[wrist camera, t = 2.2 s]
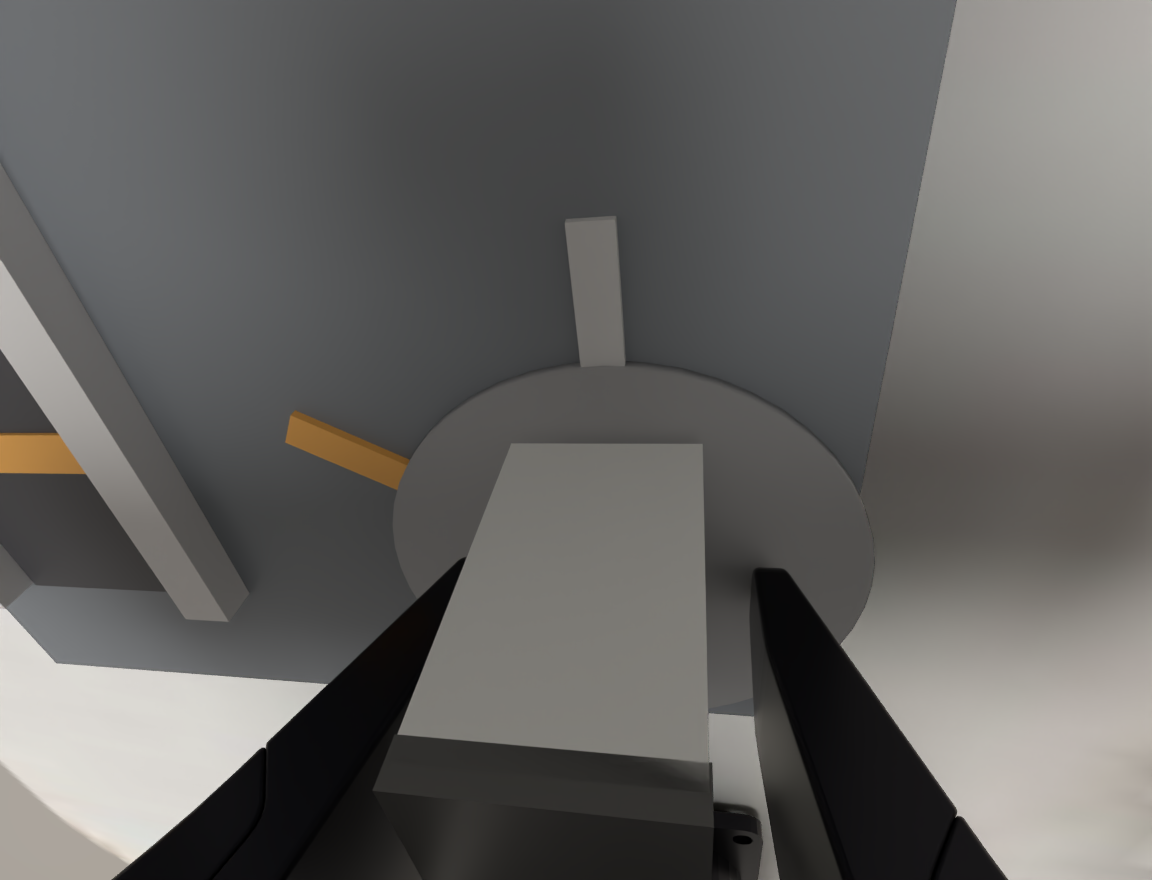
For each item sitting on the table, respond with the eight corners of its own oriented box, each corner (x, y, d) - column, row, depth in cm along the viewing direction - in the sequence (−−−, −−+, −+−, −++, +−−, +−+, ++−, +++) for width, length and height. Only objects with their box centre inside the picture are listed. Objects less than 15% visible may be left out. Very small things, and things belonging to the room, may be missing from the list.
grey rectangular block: (700, 693, 10) (705, 1050, 7) (561, 683, 11) (499, 1016, 7) (704, 433, 7) (713, 827, 4) (514, 433, 8) (371, 790, 4)
